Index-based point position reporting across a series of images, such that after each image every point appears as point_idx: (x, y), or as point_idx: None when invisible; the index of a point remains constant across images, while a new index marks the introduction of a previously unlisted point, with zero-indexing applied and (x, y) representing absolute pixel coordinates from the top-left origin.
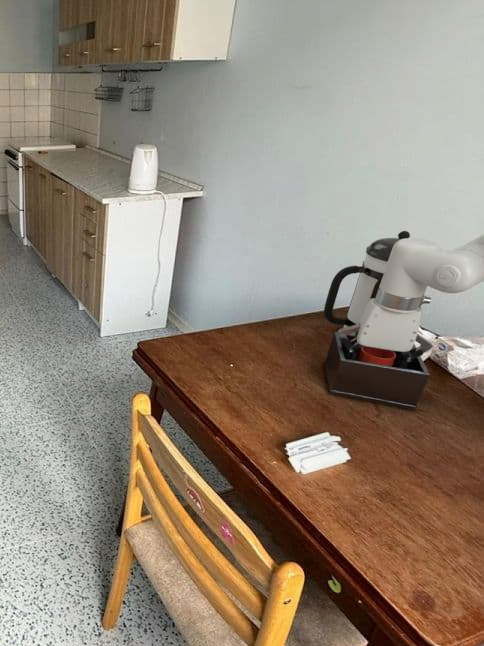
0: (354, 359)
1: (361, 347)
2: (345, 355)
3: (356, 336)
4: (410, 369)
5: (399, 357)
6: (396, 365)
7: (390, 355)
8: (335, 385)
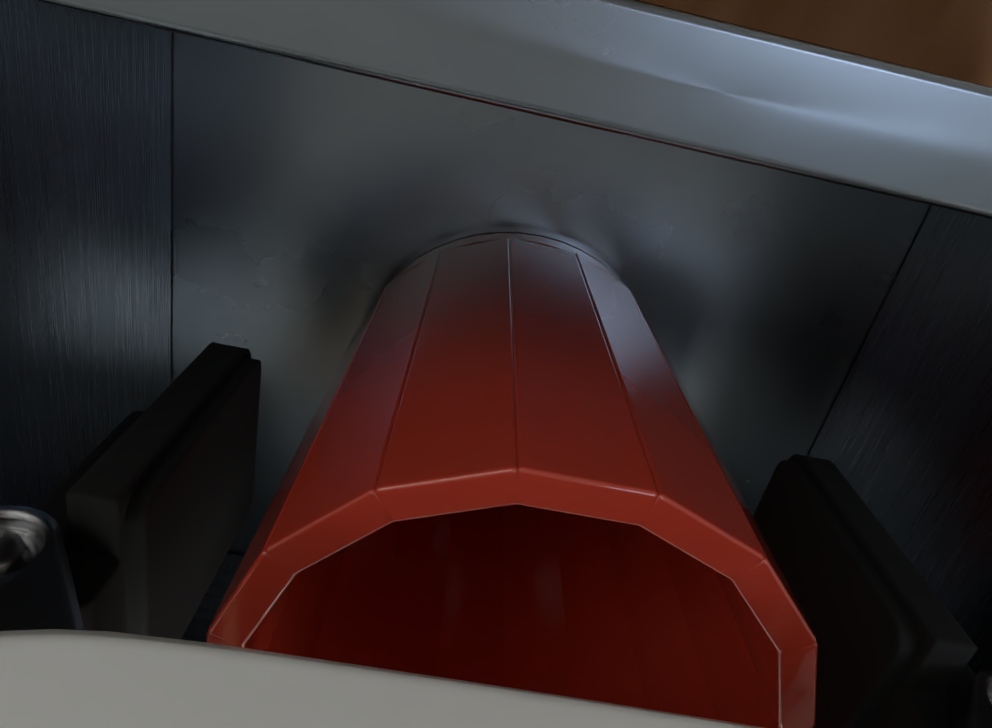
0: (193, 613)
1: (214, 641)
2: (107, 437)
3: (197, 28)
4: (956, 546)
5: (868, 662)
6: (799, 551)
7: (749, 627)
8: None
